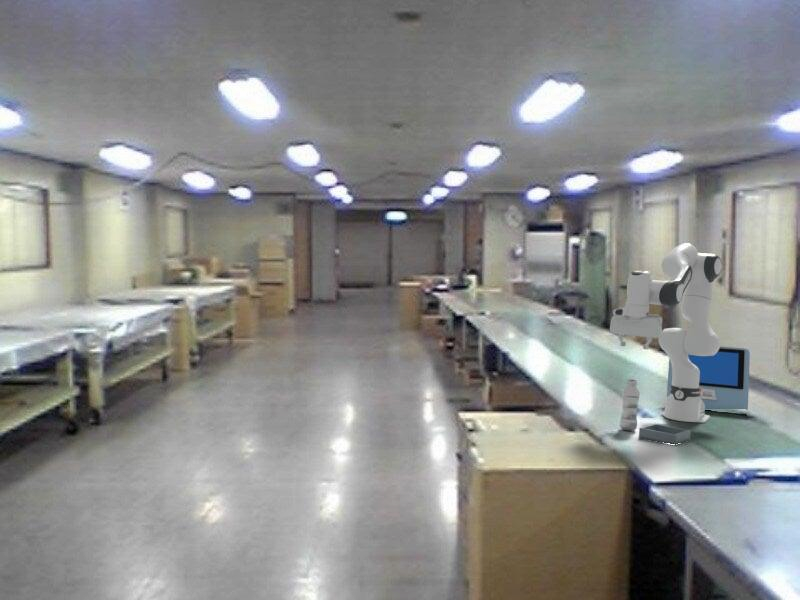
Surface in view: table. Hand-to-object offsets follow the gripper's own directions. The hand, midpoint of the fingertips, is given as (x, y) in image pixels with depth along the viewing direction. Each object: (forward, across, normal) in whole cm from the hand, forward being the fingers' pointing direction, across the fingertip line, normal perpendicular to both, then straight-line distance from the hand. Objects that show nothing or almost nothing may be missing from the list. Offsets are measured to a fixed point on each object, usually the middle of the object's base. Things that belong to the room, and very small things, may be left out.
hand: (634, 347), depth 309 cm
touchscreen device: (+33, 0, -82) cm, 89 cm away
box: (+33, -16, +3) cm, 37 cm away
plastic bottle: (+33, 0, 0) cm, 33 cm away
